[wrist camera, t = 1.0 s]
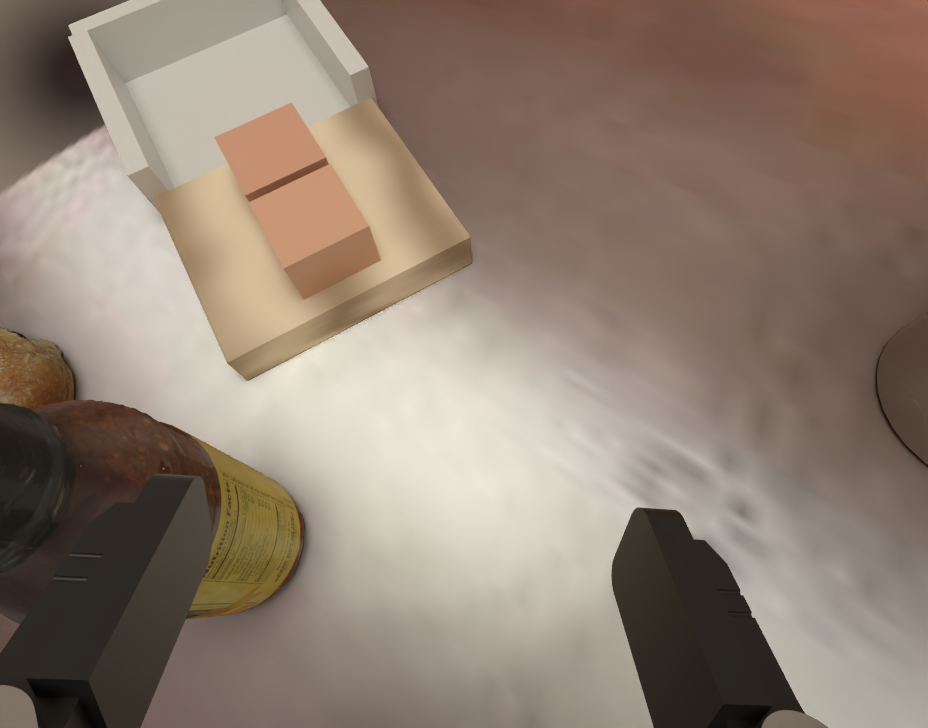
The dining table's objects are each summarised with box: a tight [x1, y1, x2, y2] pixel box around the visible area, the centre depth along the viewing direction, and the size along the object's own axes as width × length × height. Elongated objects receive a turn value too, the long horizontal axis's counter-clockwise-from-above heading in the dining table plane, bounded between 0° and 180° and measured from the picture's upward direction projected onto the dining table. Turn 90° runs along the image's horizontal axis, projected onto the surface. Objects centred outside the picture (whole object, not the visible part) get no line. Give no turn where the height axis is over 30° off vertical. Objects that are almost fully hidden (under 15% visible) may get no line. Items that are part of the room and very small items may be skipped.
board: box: [154, 98, 472, 381], centre depth 32 cm, size 14×12×2 cm
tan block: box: [249, 164, 381, 299], centre depth 29 cm, size 4×4×3 cm
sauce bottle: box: [0, 400, 304, 624], centre depth 18 cm, size 7×6×20 cm
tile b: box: [214, 102, 329, 202], centre depth 31 cm, size 4×4×3 cm
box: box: [68, 0, 378, 212], centre depth 36 cm, size 15×14×4 cm
